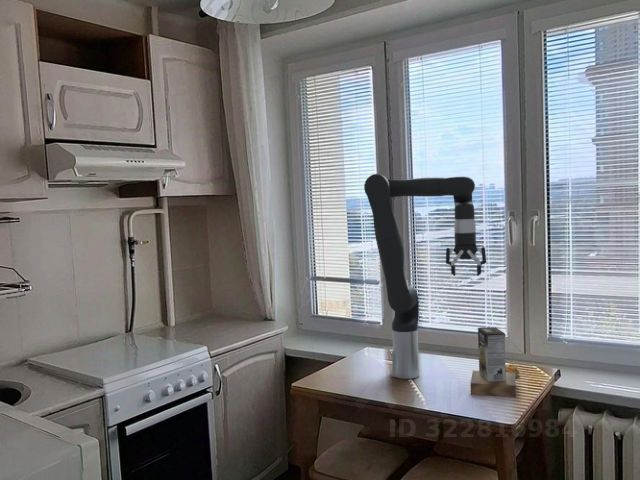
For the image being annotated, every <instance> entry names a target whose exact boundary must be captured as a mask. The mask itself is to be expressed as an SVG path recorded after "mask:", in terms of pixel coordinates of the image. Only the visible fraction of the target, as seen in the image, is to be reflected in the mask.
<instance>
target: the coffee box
mask: <svg viewBox="0 0 640 480" xmlns="http://www.w3.org/2000/svg"><path fill="white" fill-rule="evenodd" d="M477 340H478V343H477V344H478V371H479V374H480V375H481V376H482V377H483V378H484V379H485V380H486V381H487V382H493V381H506V368H505V366H506V333H505V332H504V331H502V330H500V329H499V328H497V327H495V326H494V327H487V326H485V327H484V326H483V327H478V328H477Z"/></svg>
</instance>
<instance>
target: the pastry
mask: <svg viewBox="0 0 640 480" xmlns="http://www.w3.org/2000/svg"><path fill="white" fill-rule="evenodd" d="M505 368H506V372H513V373H515V379H516V378H517V377H519V376H520V371H519V369H518V368H517V366H516V365H515V364H505Z"/></svg>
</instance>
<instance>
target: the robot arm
mask: <svg viewBox="0 0 640 480" xmlns="http://www.w3.org/2000/svg"><path fill="white" fill-rule="evenodd" d="M363 187H364V194H365V195H366V197H367V199H368V202H369V206H370V209H371V213H372V218H373V219H372V220H373V229H374V230H373V231H374V236H375V242H376V246H377V251H378V254H379V258H380V262H381V266H382V267H381V268H382V270H383V274H384V275H383V276H384V279H385V286H386V295H387V302H388V305H389V306H390V308H391V309H392V311H394V317H393V320H392V323H391V330H392V332H391V333H392V334H391V335H392V351H391V366H392V367H391V369H392V377H393V378H398V379H402V380H409V379H410V380H411V379H416V378H418V377H419V376H420V367H419V365H420V364H419V337H418V336H419V335H418V330H419V329H418V324H419V320H420V309H419V308H420V305H419V304H420V302H419V301H420V300H419V295H418V292H417V290H416V289H415V288H414V287H413V286H411V285H408V284H407V281H406V277H405V272H404V271H405V270H404V268H405V267H404V265H405V264H404V263H405V248H404V243H403V239H402V234H401V230H400V228H399V224H398V221H397V219H396V216H395V214H394V211H393V207H392V206H393V205H392V200H391V199H392V198H399V197H427V198H428V197H445V196H452V197H453V202H454V224H453V226H454V227H453V228H454V231H453V232H454V247H447V248H445V264H446V265H450V273H451V275H453V277H455V276H456V263H457V262H458V260H459V259H460V260H473V261H474V263H476V264H477V265H476V275H477V277H479V276H480V275H481V274H482V265H486V263H487V254H486V247H485V246H482V247H478V246H477V234H476V230H477V228H476V220H475V219H476V218H475V206H474V204H473V193H474V190H475V188H476V185H475V181H474V180H473V179H472V178H471V177H469V176H452V177H442V176H440V177H439V176H432V177H431V176H430V177H429V176H428V177H418V178H409V179H393V178H392V179H391V178H386V177H385V176H384V175H382V174H379V173H373V174H371V175H369V176H368V177H367V178H366V180H365V182H364V186H363ZM453 252H454V253H455V255H456V256H455V257H454V258H453V260H451V254H452V253H453ZM477 252H479V253H480V254H481V258H482V259H481V260H480V259H479V257H477V255H476V254H477Z"/></svg>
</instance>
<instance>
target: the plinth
mask: <svg viewBox="0 0 640 480" xmlns="http://www.w3.org/2000/svg"><path fill="white" fill-rule="evenodd" d="M470 395H471V396H477V397H478V396H481V397H494V398H495V397H496V398H497V397H498V398H511V399H512V398H513V399H514V398H515V399H516V398H517V382H516V378H515V373H513V372H506V381H493V382H487V381H486V380H485V379H484V378H483V377H482V376H481V375H480V374H479V370H472V373H471V378H470Z"/></svg>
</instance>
